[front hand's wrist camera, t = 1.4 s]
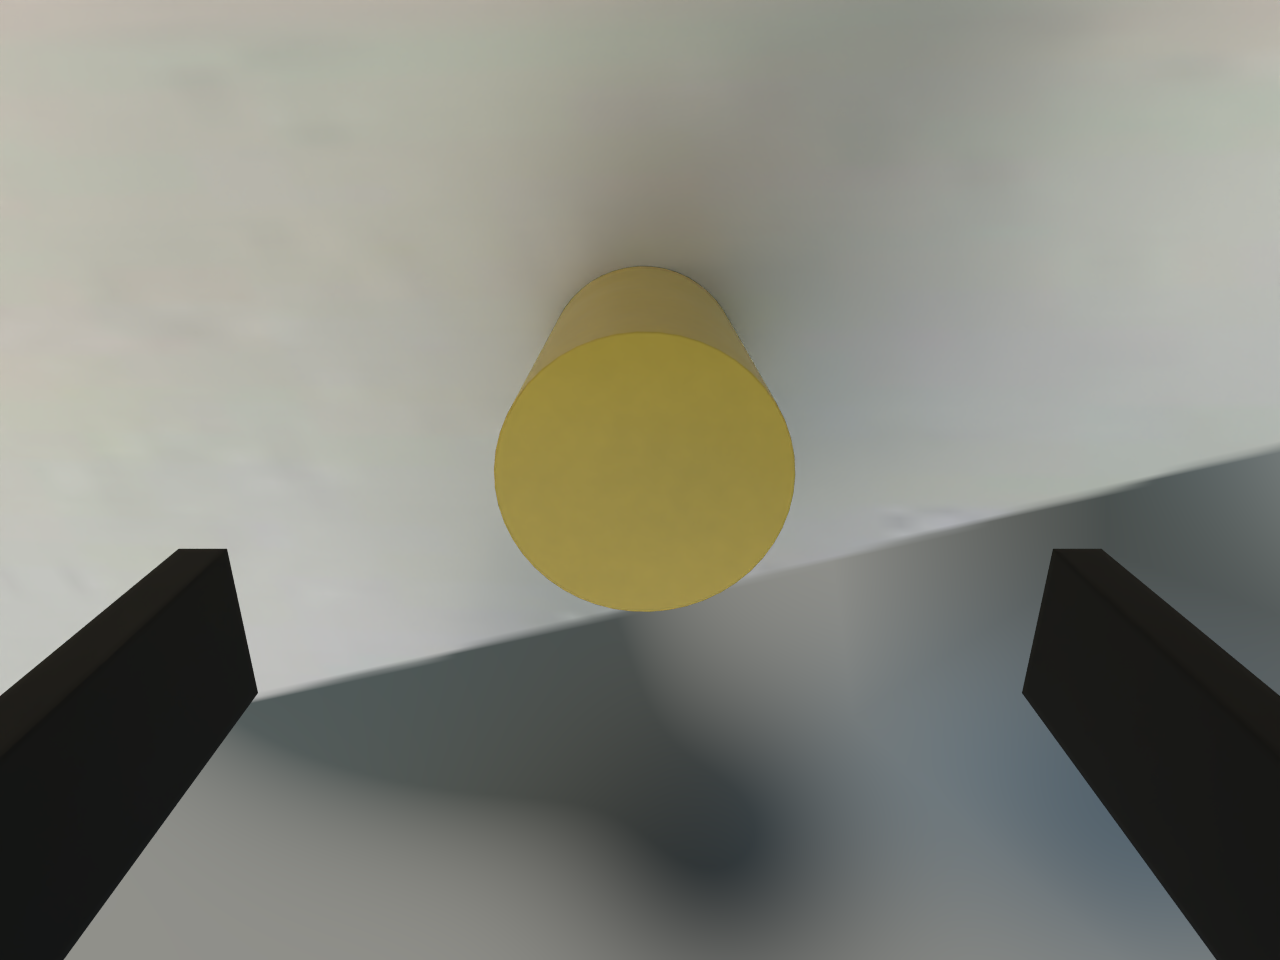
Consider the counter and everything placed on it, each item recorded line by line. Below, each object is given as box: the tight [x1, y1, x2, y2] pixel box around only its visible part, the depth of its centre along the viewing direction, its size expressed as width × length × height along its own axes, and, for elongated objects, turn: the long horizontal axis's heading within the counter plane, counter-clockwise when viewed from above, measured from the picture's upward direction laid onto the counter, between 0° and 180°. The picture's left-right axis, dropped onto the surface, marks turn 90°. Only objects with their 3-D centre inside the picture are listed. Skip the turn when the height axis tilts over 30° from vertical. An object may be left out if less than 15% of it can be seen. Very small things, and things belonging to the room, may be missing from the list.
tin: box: [494, 266, 795, 612], centre depth 24 cm, size 7×7×12 cm
